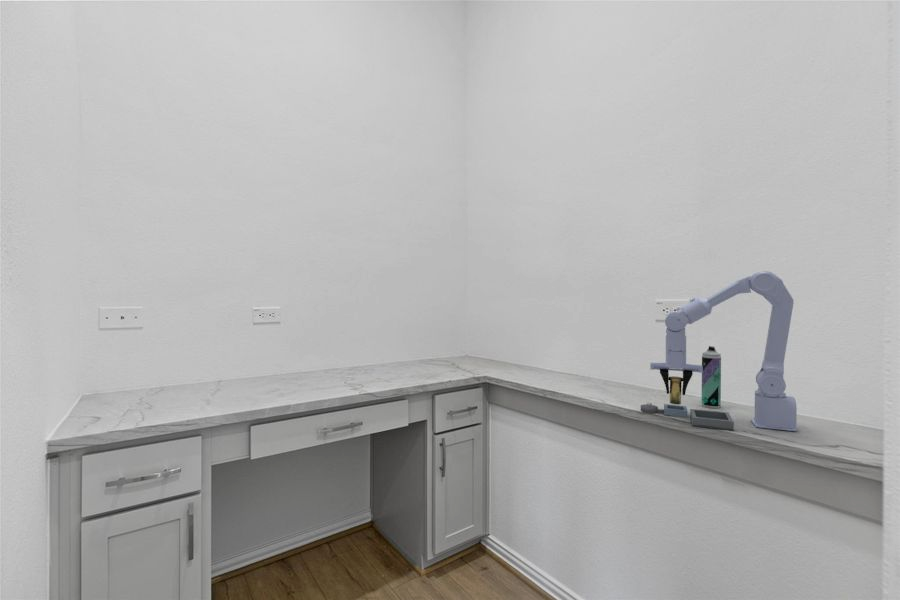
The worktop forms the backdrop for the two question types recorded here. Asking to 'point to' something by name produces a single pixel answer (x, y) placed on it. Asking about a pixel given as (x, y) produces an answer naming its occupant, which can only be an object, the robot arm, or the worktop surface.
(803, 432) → the worktop surface
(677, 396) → the pin
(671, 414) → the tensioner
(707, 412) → the tray
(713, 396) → the spray can
